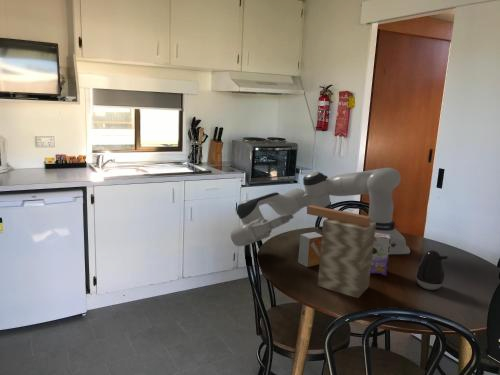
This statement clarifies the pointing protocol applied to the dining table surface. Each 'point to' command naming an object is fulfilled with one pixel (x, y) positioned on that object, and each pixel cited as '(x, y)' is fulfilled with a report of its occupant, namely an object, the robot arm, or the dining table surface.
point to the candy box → (380, 253)
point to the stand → (346, 257)
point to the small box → (310, 249)
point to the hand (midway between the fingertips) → (286, 218)
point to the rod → (338, 215)
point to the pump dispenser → (431, 270)
